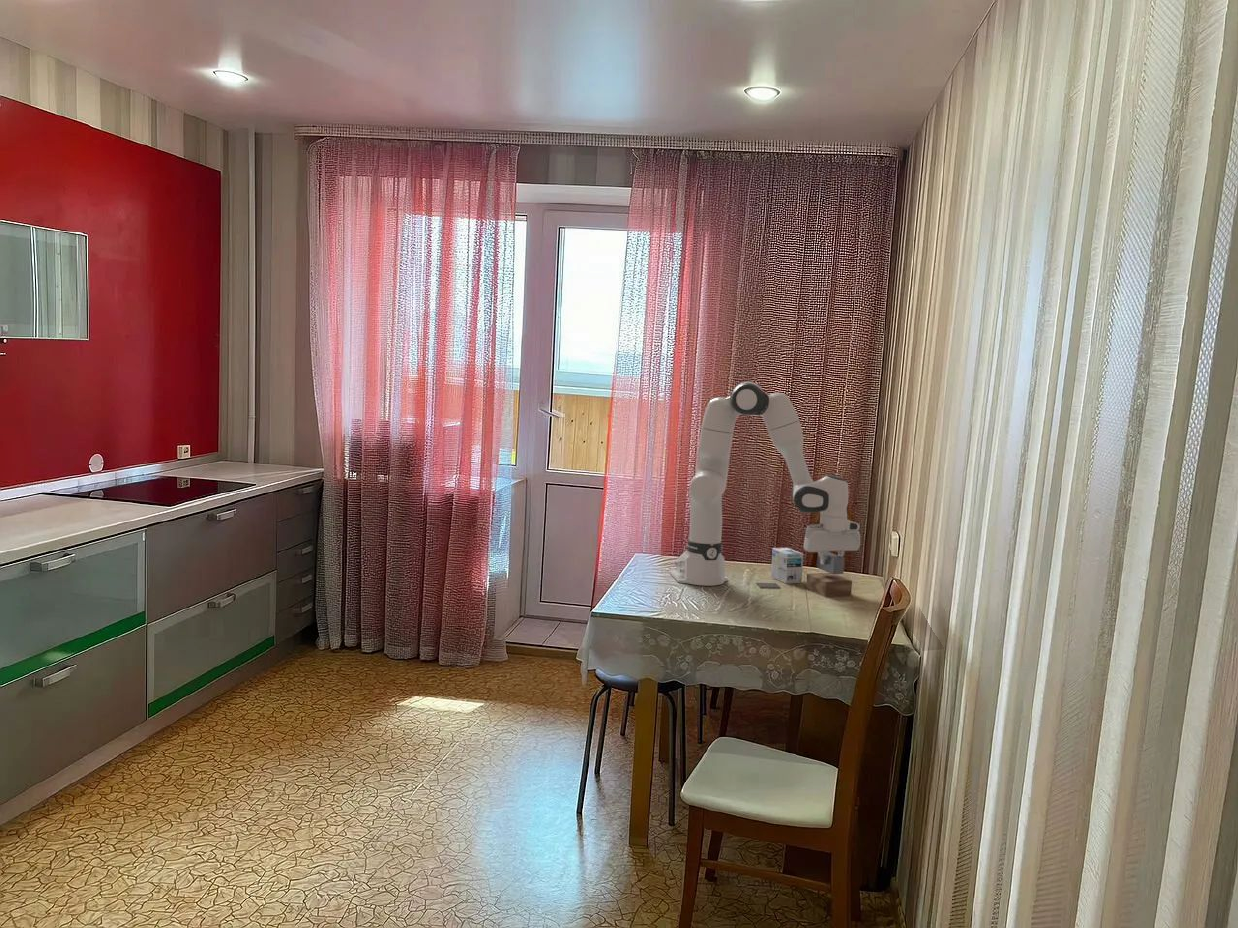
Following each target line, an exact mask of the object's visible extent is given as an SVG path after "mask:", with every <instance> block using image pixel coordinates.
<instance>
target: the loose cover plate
mask: <svg viewBox="0 0 1238 928" xmlns="http://www.w3.org/2000/svg"><path fill="white" fill-rule="evenodd" d="M756 584H757V585H756ZM755 585H756V586H757V587H759V588H760V589H781V586H780V585H778V584H777V583H776V582H755Z"/></svg>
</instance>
